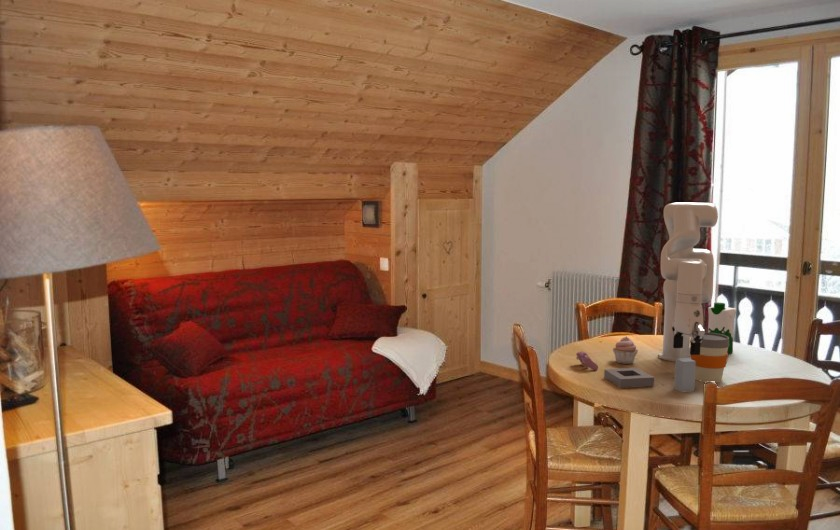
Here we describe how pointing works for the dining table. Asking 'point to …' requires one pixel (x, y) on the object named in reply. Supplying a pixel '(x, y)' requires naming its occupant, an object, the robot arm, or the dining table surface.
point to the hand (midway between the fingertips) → (686, 351)
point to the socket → (628, 377)
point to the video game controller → (586, 360)
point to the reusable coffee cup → (711, 357)
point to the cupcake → (625, 351)
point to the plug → (684, 374)
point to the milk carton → (722, 322)
